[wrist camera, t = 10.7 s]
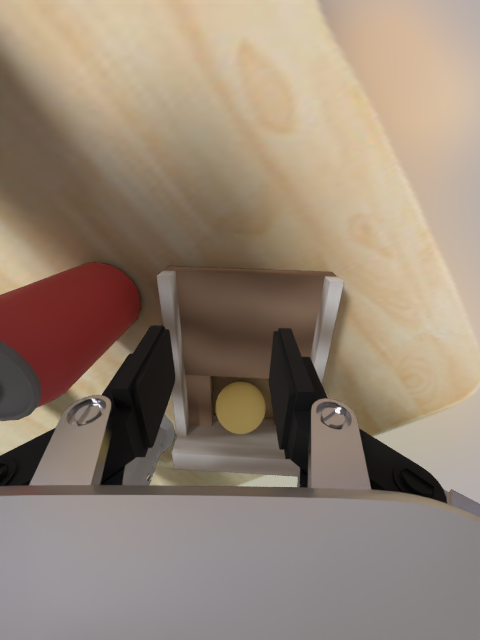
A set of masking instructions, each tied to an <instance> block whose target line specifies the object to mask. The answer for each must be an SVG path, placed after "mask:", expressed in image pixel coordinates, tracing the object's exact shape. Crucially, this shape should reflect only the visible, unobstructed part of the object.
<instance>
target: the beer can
mask: <svg viewBox="0 0 480 640" xmlns="http://www.w3.org/2000/svg"><path fill="white" fill-rule="evenodd" d="M140 310H141V302H140V296H139V293H138V290H137V288H136V286H135V285H134V283H133V282H132V281H131V279H130V278H129V277H128V276H127V275H125V274H124V273H123V272H122V271H121V270H119V269H117V268H115V267H113V266H111V265H108V264H103V263H97V262H94V263H87V264H83V265H80V266H77V267H75V268H72V269H69V270H67V271H64V272H61V273H59V274H56V275H53V276H50V277H48V278H45V279H42V280H40V281H37V282H34V283H32V284H29V285H26V286H24V287H21V288H18V289H15V290H13V291H10V292H7V293H5V294H2V295H0V421H7V420H19V419H21V418H23V417H26V416H28V415H30V414H31V413H32V412H33V411H34V410H35V408H37V407H39V406H42V405H44V404H46V403H48V402H50V401H52V400H54V399H56V398H58V397H59V396H61V395H62V394H64V393H65V392H66V391H67V390H68V389H69V388H70V387H71V386H72V385H73V384H74V383H75V382H76V381H77V380H78V379H79V378H80V377H81V376H82V375H83V374H84V373H85V372H86V371H87V370H88V369H89V368H90V367H91V366H92V365H93V364H94V363H95V362H96V361H97V360H98V359H99V358H100V357H101V356H102V355H103V354H104V353H105V352H106V351H107V350H108V349H109V348H110V347H111V346H112V344H113V343H114V342H115V341H116V340H117V339H118V338H119V337H120V336H121V335H122V334H123V333H124V332H125V331H126V330H127V329H128V328H129V327H130V326H131V325H132V324H133V323H134V322H135V321H136V320H137V318H138V316H139V313H140Z"/></svg>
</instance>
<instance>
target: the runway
mask: <svg viewBox="0 0 480 640" xmlns="http://www.w3.org/2000/svg"><path fill="white" fill-rule="evenodd" d="M157 282H158V290H159V298H160V305H161V313H162V321H163V326H165V328H166V329H169V331H170V337H171V345H172V353H173V360H174V368H175V384H174V387H173V390H172V398H173V406H174V414H175V422H176V429H177V438H176V441H175V445H174V448H173V451H172V458H173V465H174V469H184V470H201V471H217V472H233V473H249V474H266V475H282V476H298V466H297V465H296V464H295V463H294V462H292V461H291V459H285V453H284V450H280V449H279V445H278V439H277V432H276V425H275V419H271V418H263V420H262V422H261V424H260V425H259V426H258V427H257V428H256V429H255V430H253V431H251V432H249V433H246V434H235V433H232V432H230V431H228V430H227V429H225V428H224V427H223V426H222V425H221V423H220V422H219V420H218V418H217V416H215V415H214V403H213V376H219V377H240V378H260V379H269V373H270V363H271V353H272V343H273V333H274V331H278V328H291V329H292V332H293V335H294V337H295V340H296V343H297V345H298V348H299V351H300V353H301V356H302V357H310V358H311V360H312V363H313V365H314V367H315V370H316V372H317V374H318V377H319V379H320V382H321V384H322V381H323V377H324V372H325V368H326V363H327V358H328V354H329V349H330V344H331V340H332V335H333V330H334V326H335V321H336V316H337V312H338V307H339V303H340V298H341V293H342V289H343V284H344V282H343V281H342V280H341V279H339V278H338V277H337V276H336V275H335V274H334V273H333V272H321V271H292V270H263V269H233V268H204V267H175V266H169V267H167V268H166V269H165V270H163V271H162V272H161V273H160V274H158V275H157Z"/></svg>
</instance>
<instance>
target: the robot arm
mask: <svg viewBox="0 0 480 640" xmlns="http://www.w3.org/2000/svg"><path fill="white" fill-rule="evenodd" d="M174 384H175V368H174V360H173V353H172V345H171V337H170V331H169V329H166V328H165V326H151V327H150V328H149V330H148V331H147V333H146V334H145V336H144V337H143V339H142V340H141V342H140V343H139V345H138V346H137V348H136V350H135V351H134V353H133V354H129V355H128V357H127V358H126V359H125V361H124V362H123V364H122V365H121V367H120V368H119V370H118V371H117V373H116V374H115V376H114V377H113V379H112V380H111V382H110V383H109V385H108V386H107V388H106V389H105V391H104V392H103V394H102V395H92V396H88V397H84V398H82V399H80V400H78V401H76V402H75V403H73V404H71V405H70V406H69V407H68V408H67V409H66V410H65V411H64V413H63V414H62V416H61V418H60V420H59V423H58V425H57V427H56V428H54V429H52V430H50V431H48V432H46V433H44V434H42V435H40V436H38V437H36V438H34V439H32V440H31V441H29V442H27V443H25V444H23V445H21V446H19V447H17V448H15V449H13V450H11V451H9V452H7V453H5V454H3V455H1V456H0V640H480V504H479V503H477V502H475V501H473V500H471V499H469V498H467V497H465V496H464V495H462V494H460V493H458V492H456V491H454V490H452V489H451V490H450V492H447V491H445V490H444V489H443V488H442V487H441V485H440V484H439V482H438V481H437V480H436V479H435V478H434V477H433V476H432V475H431V474H430V473H429V472H428V471H426V470H425V469H424V468H422V467H421V466H419V465H418V464H416V463H414V462H413V461H411V460H409V459H408V458H406V457H404V456H403V455H401V454H400V453H398V452H396V451H395V450H393V449H392V448H390V447H388V446H387V445H385V444H383V443H382V442H380V441H379V440H377V439H375V438H374V437H372V436H370V435H369V434H367V433H366V432H364V431H362V430H361V429H359V427H358V422H357V418H356V416H355V414H354V412H353V411H352V410H351V409H350V408H349V407H348V406H347V405H345V404H344V403H342V402H340V401H337V400H334V399H328V398H327V396H326V393H325V391H324V389H323V386H322V384H321V382H320V379H319V377H318V374H317V372H316V370H315V367H314V365H313V363H312V360H311V358H310V357H302V356H301V353H300V351H299V348H298V345H297V343H296V340H295V337H294V335H293V332H292V329H291V328H278V331H274V333H273V343H272V353H271V363H270V373H269V386H270V392H271V399H272V406H273V412H274V419H275V425H276V432H277V439H278V445H279V449H280V450H284V453H285V459H291V461H292V462H294V463H295V464H296V465H297V466H298V485H297V487H295V488H294V487H239V486H149V485H127V481H128V474H129V466H130V464H129V463H130V462H131V461H132V460H134V459H135V458H136V457H146V454H147V451H148V448H152V447H153V446H154V443H155V440H156V437H157V434H158V431H159V428H160V425H161V422H162V419H163V416H164V413H165V410H166V407H167V404H168V401H169V398H170V395H171V393H172V390H173V387H174Z"/></svg>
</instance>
